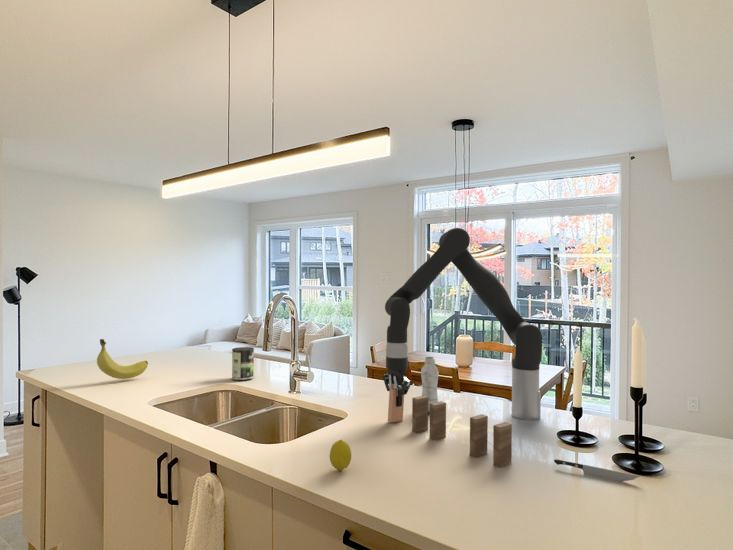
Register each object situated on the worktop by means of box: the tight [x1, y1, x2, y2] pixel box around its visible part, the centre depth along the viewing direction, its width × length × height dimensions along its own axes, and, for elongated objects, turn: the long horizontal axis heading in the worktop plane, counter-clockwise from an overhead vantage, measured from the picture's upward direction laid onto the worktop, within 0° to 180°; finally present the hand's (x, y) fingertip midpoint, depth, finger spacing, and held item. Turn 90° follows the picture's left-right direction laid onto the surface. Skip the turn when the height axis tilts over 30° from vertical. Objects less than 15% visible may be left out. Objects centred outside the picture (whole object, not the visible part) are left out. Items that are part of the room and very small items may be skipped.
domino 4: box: [469, 413, 489, 459], centre depth 125 cm, size 2×5×11 cm, turn 126°
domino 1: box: [387, 388, 405, 423], centre depth 154 cm, size 2×5×11 cm, turn 125°
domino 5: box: [492, 421, 513, 469], centre depth 118 cm, size 2×5×11 cm, turn 125°
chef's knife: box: [553, 459, 641, 482], centre depth 111 cm, size 19×1×3 cm, turn 59°
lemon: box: [329, 439, 352, 472], centre depth 114 cm, size 6×6×8 cm
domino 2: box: [411, 395, 429, 434], centre depth 144 cm, size 2×5×11 cm, turn 126°
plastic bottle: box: [420, 356, 440, 414], centre depth 165 cm, size 6×7×20 cm
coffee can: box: [231, 346, 255, 381], centre depth 219 cm, size 10×10×14 cm
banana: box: [96, 338, 149, 380], centre depth 214 cm, size 23×6×20 cm, turn 140°
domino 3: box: [428, 400, 447, 442], centre depth 138 cm, size 2×5×11 cm, turn 125°
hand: (396, 405), depth 154 cm, fingers closed on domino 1
